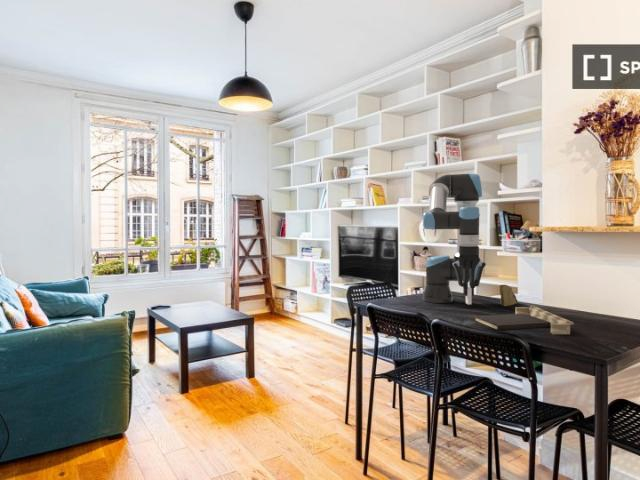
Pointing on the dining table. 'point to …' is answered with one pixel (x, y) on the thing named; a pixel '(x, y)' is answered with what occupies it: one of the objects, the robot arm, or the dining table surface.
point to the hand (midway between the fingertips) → (468, 303)
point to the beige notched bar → (547, 319)
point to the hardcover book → (512, 321)
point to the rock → (507, 296)
